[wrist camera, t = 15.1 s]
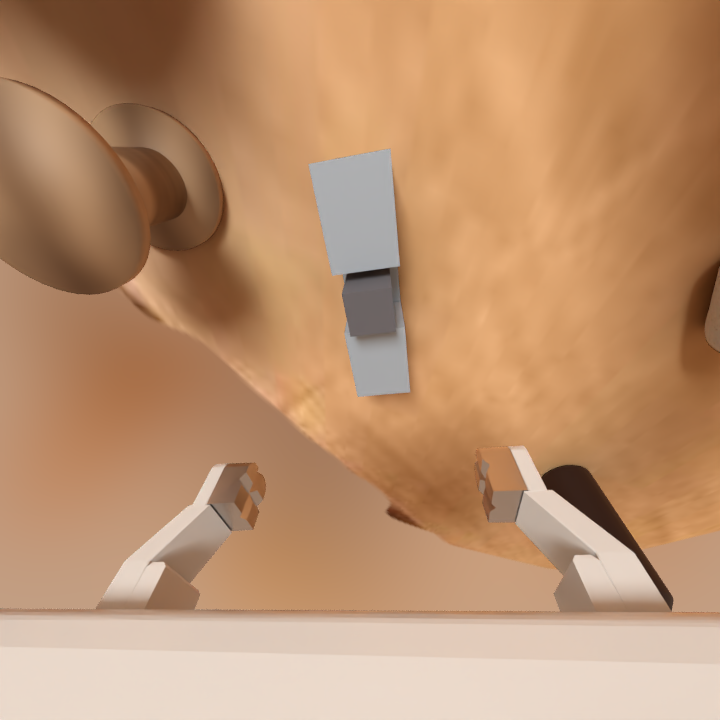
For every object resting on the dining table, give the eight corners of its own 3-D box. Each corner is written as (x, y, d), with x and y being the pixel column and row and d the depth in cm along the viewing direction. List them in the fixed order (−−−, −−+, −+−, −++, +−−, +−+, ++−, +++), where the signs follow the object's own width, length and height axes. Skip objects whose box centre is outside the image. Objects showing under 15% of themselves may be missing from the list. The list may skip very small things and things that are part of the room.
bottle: (600, 470, 43) (739, 668, 26) (567, 495, 47) (671, 682, 30) (559, 459, 42) (678, 657, 25) (529, 485, 46) (615, 673, 29)
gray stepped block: (387, 149, 23) (390, 148, 18) (405, 356, 33) (410, 392, 28) (322, 161, 23) (308, 164, 18) (360, 361, 34) (357, 396, 29)
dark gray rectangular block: (388, 258, 26) (391, 287, 21) (392, 295, 28) (396, 331, 23) (349, 263, 27) (341, 294, 21) (355, 299, 29) (350, 336, 23)
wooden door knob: (188, 91, 21) (50, 47, 12) (241, 238, 27) (173, 282, 18) (66, 120, 22) (-142, 98, 13) (141, 254, 28) (29, 303, 19)
